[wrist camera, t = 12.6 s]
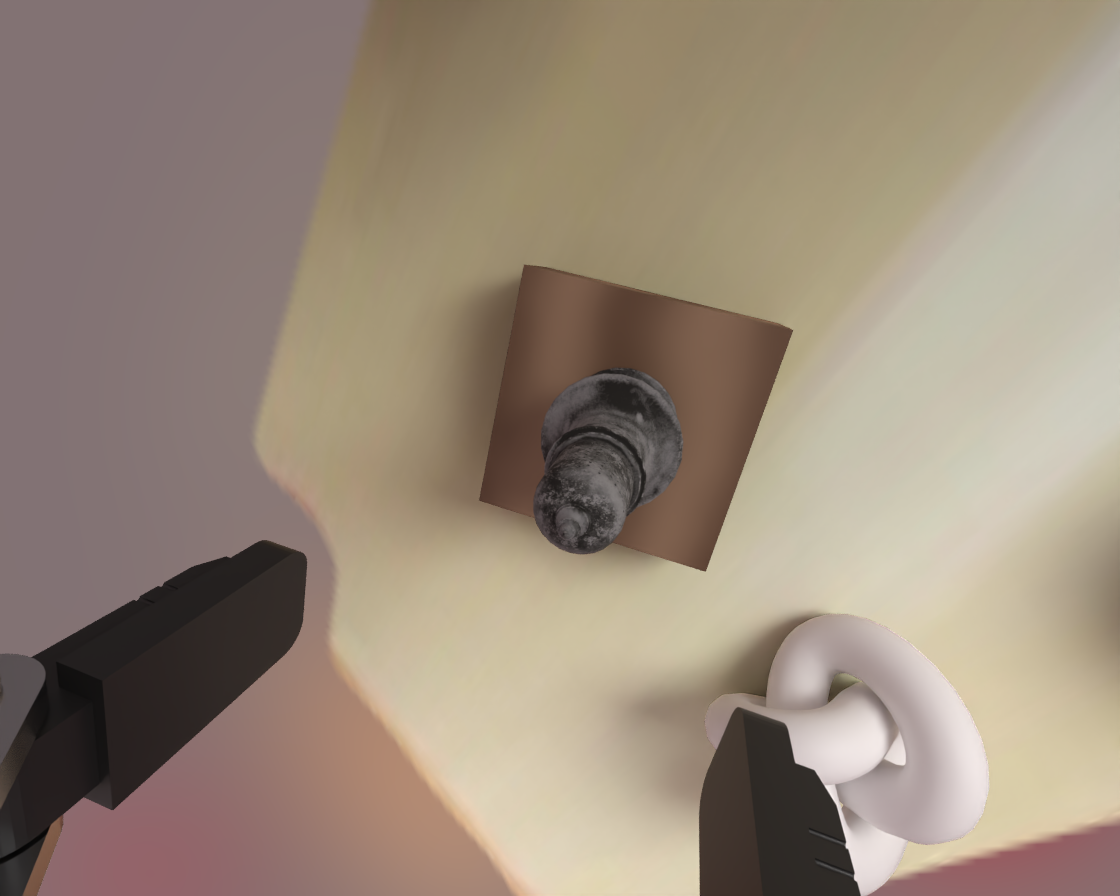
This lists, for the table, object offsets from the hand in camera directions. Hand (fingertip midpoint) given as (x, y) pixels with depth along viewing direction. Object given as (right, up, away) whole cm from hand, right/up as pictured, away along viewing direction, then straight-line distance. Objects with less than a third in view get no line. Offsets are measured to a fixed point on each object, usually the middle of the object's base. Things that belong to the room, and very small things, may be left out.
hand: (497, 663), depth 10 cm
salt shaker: (+4, +5, +16) cm, 17 cm away
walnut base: (+5, +6, +20) cm, 21 cm away
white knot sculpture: (+15, -10, +22) cm, 29 cm away
